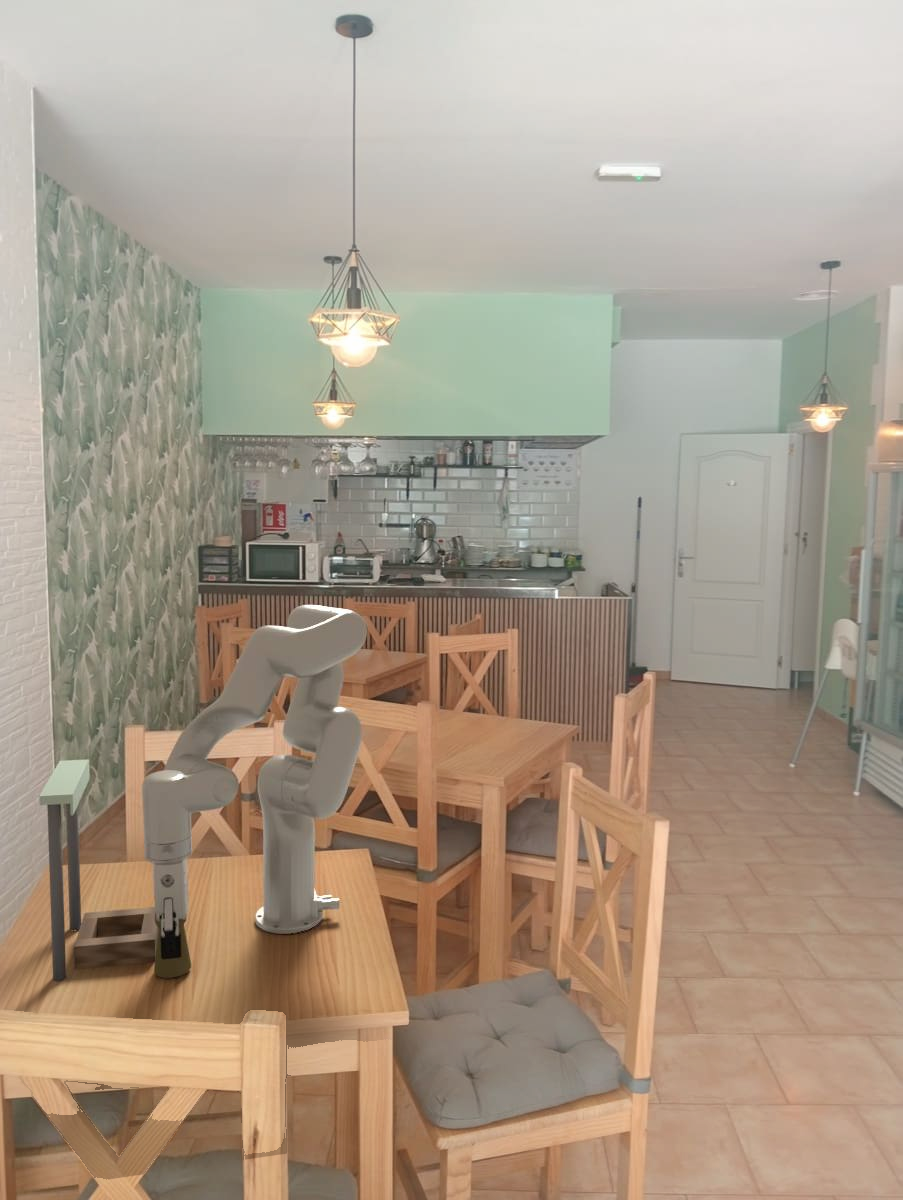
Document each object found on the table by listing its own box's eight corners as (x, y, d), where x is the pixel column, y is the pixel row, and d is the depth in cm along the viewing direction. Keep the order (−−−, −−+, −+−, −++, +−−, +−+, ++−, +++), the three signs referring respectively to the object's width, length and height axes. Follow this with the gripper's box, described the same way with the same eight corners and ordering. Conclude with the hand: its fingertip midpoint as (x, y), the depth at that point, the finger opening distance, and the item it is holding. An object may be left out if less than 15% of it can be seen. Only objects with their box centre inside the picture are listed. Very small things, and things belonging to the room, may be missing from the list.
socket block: (159, 927, 175) (159, 906, 175) (155, 961, 163) (154, 939, 162) (85, 933, 172) (84, 912, 172) (74, 969, 160) (74, 946, 159)
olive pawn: (180, 979, 156) (178, 916, 154) (147, 975, 157) (144, 912, 156) (197, 961, 162) (195, 900, 160) (165, 957, 163) (162, 896, 162)
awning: (93, 924, 176) (89, 759, 172) (78, 979, 157) (72, 794, 153) (64, 927, 175) (59, 760, 171) (45, 982, 155) (39, 796, 152)
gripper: (190, 864, 149) (194, 973, 152) (193, 826, 166) (196, 925, 168) (140, 869, 148) (144, 979, 150) (148, 829, 164) (152, 929, 166)
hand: (172, 949), depth 159 cm, fingers closed on olive pawn, 4 cm apart
